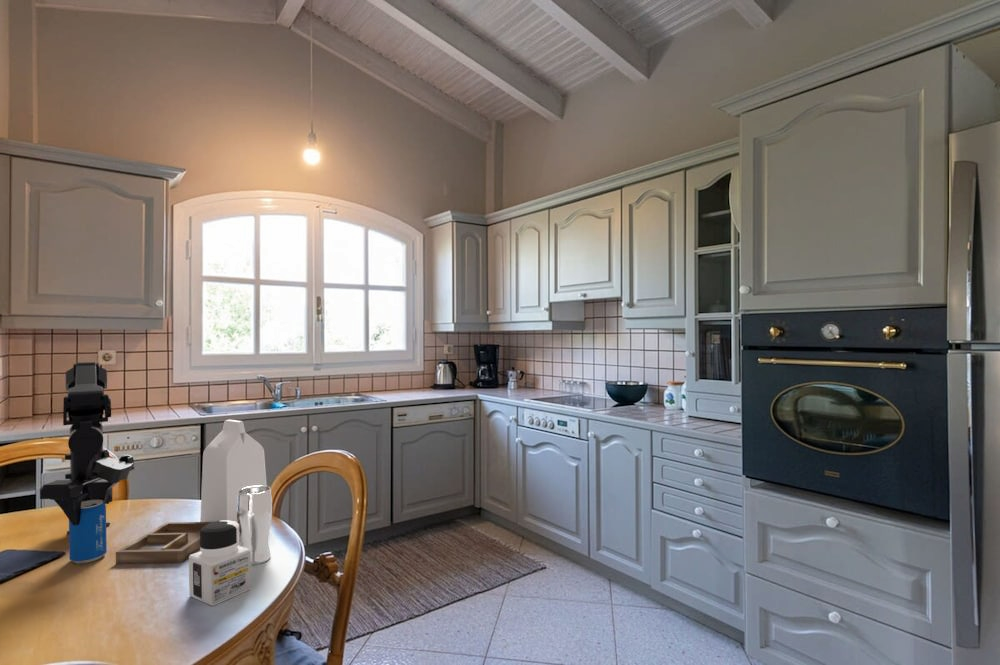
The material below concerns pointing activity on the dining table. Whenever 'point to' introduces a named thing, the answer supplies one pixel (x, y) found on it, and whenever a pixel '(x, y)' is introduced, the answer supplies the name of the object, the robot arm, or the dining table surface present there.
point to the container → (219, 564)
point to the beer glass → (255, 521)
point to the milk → (229, 471)
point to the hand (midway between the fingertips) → (87, 519)
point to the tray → (164, 544)
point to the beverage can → (88, 533)
